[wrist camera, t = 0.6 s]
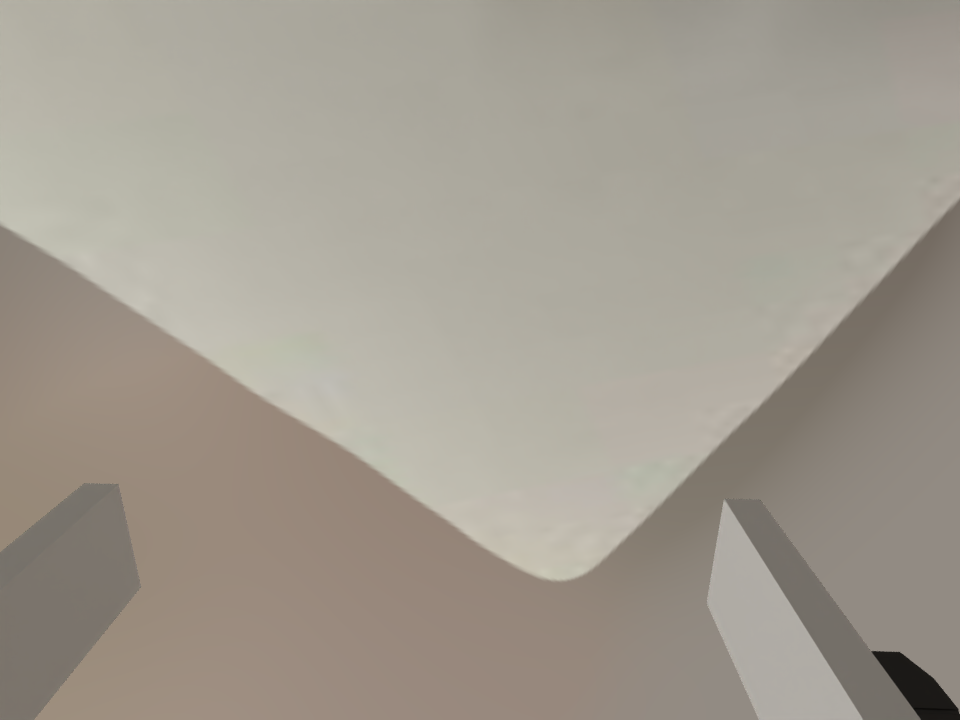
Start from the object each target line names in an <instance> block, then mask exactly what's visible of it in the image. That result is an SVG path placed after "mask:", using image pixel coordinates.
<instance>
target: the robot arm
mask: <svg viewBox="0 0 960 720" xmlns="http://www.w3.org/2000/svg"><path fill="white" fill-rule="evenodd" d="M140 588H141V585H140V580H139V576H138V572H137V567H136V562H135V557H134V553H133V549H132V544H131V539H130V535H129V530H128V525H127V521H126V517H125V512H124V507H123V503H122V498H121V493H120V489H119V485H118V484H87V483H84V484H83V485H82V486H80V487H79V488H78V489H77V490H75V491H74V492H73V493H72V494H71V495H70V496H68V497H67V498H66V499H64V500H63V501H62V502H61V503H60V504H58V505H57V506H56V507H55V508H54V509H52V510H51V511H50V512H49V513H47V514H46V515H45V516H44V517H43V518H41V519H40V520H39V521H38V522H36V523H35V524H34V525H33V526H32V527H30V528H29V529H28V530H27V531H25V532H24V533H23V534H22V535H21V536H19V537H18V538H17V539H16V540H15V541H13V542H12V543H11V544H10V545H8V546H7V547H6V548H5V549H4V550H2V551H1V552H0V720H34V719H35V718H36V717H37V715H38V714H39V713H40V712H41V710H42V709H43V708H44V707H45V705H46V704H47V703H48V702H49V700H50V699H51V698H52V697H53V696H54V694H55V693H56V692H57V690H58V689H59V688H60V687H61V686H62V684H63V683H64V682H65V680H66V679H67V678H68V677H69V676H70V674H71V673H72V672H73V671H74V669H75V668H76V667H77V666H78V664H79V663H80V662H81V661H82V660H83V658H84V657H85V656H86V654H87V653H88V652H89V651H90V650H91V648H92V647H93V646H94V645H95V643H96V642H97V641H98V640H99V638H100V637H101V636H102V635H103V634H104V632H105V631H106V630H107V629H108V627H109V626H110V625H111V624H112V622H113V621H114V620H115V619H116V617H117V616H118V615H119V614H120V612H121V611H122V610H123V609H124V607H125V606H126V605H127V604H128V603H129V601H130V600H131V599H132V597H133V596H134V595H135V594H136V592H137V591H138V590H139V589H140ZM707 605H708V607H709V609H710V611H711V614H712V616H713V618H714V620H715V623H716V625H717V627H718V629H719V631H720V634H721V636H722V638H723V640H724V642H725V645H726V647H727V649H728V651H729V653H730V656H731V658H732V660H733V663H734V665H735V667H736V669H737V671H738V673H739V676H740V678H741V680H742V683H743V685H744V687H745V689H746V692H747V694H748V696H749V698H750V700H751V703H752V705H753V707H754V709H755V712H756V714H757V716H758V718H759V720H960V714H959V711H958V708H957V707H956V706H955V704H954V703H953V702H952V701H951V699H950V698H949V697H948V696H947V694H946V693H945V692H944V691H943V689H942V688H941V687H940V686H939V684H938V683H937V682H936V681H935V680H934V678H932V677H931V676H930V675H928V674H927V673H926V672H925V671H923V670H922V669H921V668H920V667H918V666H917V665H916V664H914V663H913V662H912V661H910V660H909V659H908V658H907V657H906V656H904V655H903V654H902V653H900V652H880V651H879V652H877V651H870V649H869V648H868V646H867V645H866V644H865V642H864V641H863V640H862V638H861V637H860V636H859V634H858V633H857V631H856V630H855V629H854V627H853V626H852V624H851V623H850V622H849V620H848V619H847V618H846V616H845V615H844V614H843V612H842V611H841V609H840V608H839V607H838V605H837V604H836V603H835V601H834V600H833V598H832V597H831V596H830V594H829V593H828V592H827V591H826V589H825V587H824V586H823V585H822V583H821V582H820V581H819V579H818V578H817V577H816V575H815V574H814V572H813V571H812V570H811V569H810V567H809V566H808V564H807V563H806V561H805V560H804V559H803V557H802V556H801V555H800V553H799V552H798V551H797V549H796V548H795V547H794V545H793V544H792V542H791V541H790V540H789V538H788V537H787V536H786V534H785V533H784V531H783V530H782V529H781V527H780V526H779V524H778V523H777V522H776V520H775V519H774V518H773V516H772V515H771V514H770V512H769V511H768V509H767V508H766V507H765V505H764V504H763V503H762V501H761V500H751V499H749V500H748V499H724V503H723V509H722V515H721V521H720V527H719V533H718V539H717V545H716V551H715V557H714V563H713V569H712V575H711V581H710V587H709V593H708V599H707Z"/></svg>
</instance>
